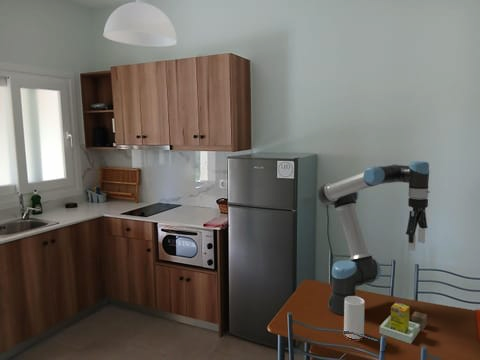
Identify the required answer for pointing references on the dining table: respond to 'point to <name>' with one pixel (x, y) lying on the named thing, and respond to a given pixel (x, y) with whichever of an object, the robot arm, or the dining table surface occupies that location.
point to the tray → (405, 337)
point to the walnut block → (420, 319)
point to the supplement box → (399, 318)
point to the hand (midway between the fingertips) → (416, 246)
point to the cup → (354, 316)
